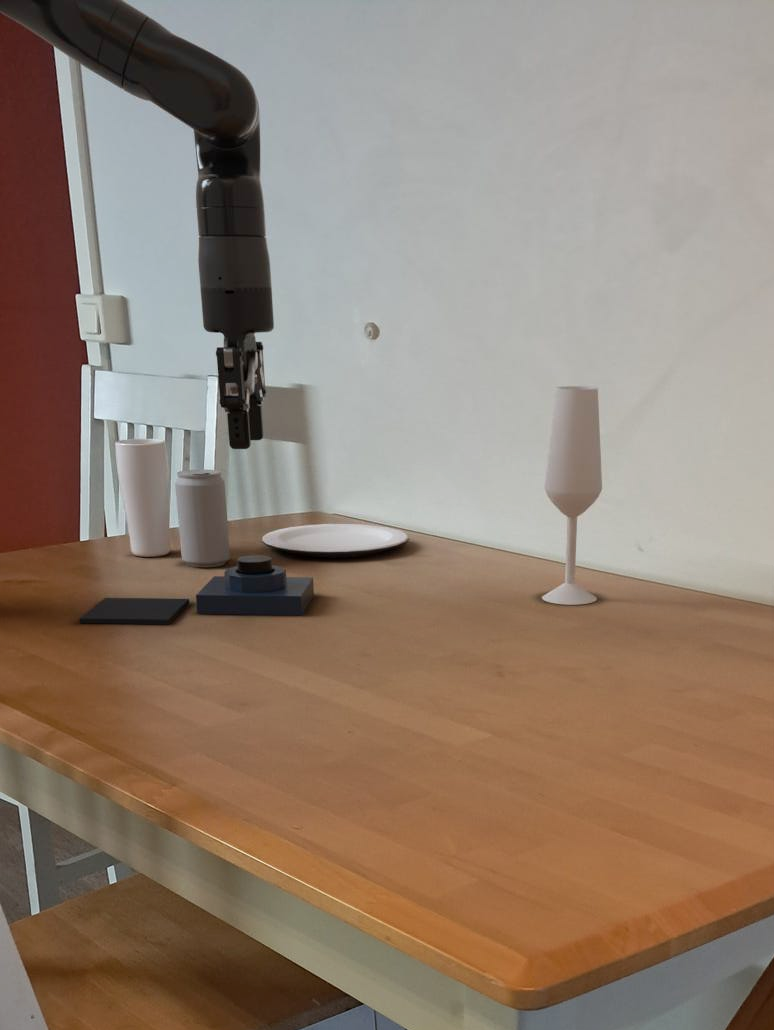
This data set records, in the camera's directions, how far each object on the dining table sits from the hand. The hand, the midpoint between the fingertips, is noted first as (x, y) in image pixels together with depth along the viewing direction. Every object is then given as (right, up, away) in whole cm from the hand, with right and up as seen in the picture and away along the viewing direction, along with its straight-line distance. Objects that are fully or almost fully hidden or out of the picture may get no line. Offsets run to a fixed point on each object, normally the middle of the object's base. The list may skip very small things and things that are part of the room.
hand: (247, 444), depth 143 cm
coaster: (-13, -18, +3) cm, 23 cm away
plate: (+6, -2, +39) cm, 40 cm away
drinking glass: (-20, -5, +34) cm, 40 cm away
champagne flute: (+37, -15, +12) cm, 42 cm away
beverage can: (-11, -7, +29) cm, 31 cm away
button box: (0, -17, +7) cm, 18 cm away
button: (0, -13, +6) cm, 15 cm away
